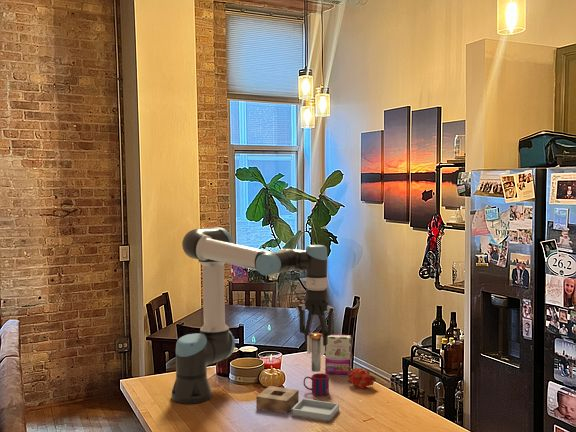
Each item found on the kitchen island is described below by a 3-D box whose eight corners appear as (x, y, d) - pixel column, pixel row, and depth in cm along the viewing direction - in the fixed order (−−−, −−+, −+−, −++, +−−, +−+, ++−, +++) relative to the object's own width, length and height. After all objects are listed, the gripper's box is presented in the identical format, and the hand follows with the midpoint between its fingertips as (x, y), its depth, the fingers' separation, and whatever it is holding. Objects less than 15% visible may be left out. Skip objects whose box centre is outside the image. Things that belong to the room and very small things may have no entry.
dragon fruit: (345, 388, 238) (373, 396, 234) (342, 381, 231) (371, 390, 227) (351, 368, 242) (379, 376, 238) (348, 361, 235) (377, 369, 231)
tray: (291, 415, 204) (291, 409, 204) (302, 404, 215) (302, 398, 215) (329, 422, 199) (329, 414, 199) (338, 410, 210) (338, 403, 210)
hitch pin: (308, 371, 205) (308, 335, 204) (312, 367, 209) (312, 332, 209) (319, 372, 203) (320, 336, 203) (323, 369, 208) (323, 333, 207)
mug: (327, 396, 224) (327, 379, 223) (302, 394, 226) (302, 377, 226) (330, 390, 230) (330, 374, 230) (305, 388, 232) (305, 372, 232)
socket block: (256, 408, 211) (256, 396, 211) (269, 397, 222) (269, 385, 222) (286, 413, 207) (286, 400, 207) (298, 401, 218) (298, 390, 218)
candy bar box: (351, 371, 254) (351, 335, 254) (350, 375, 249) (351, 337, 249) (326, 370, 256) (326, 333, 255) (324, 373, 251) (325, 336, 250)
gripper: (289, 288, 205) (289, 353, 206) (336, 292, 198) (336, 359, 199) (297, 285, 212) (297, 348, 213) (343, 288, 205) (342, 353, 206)
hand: (316, 353), depth 206 cm, fingers closed on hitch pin, 4 cm apart
